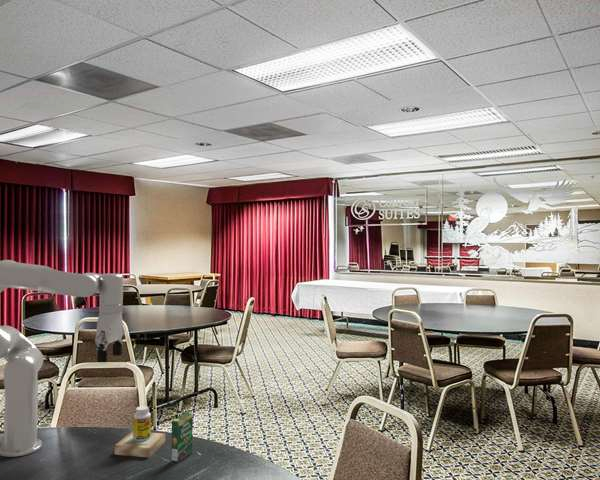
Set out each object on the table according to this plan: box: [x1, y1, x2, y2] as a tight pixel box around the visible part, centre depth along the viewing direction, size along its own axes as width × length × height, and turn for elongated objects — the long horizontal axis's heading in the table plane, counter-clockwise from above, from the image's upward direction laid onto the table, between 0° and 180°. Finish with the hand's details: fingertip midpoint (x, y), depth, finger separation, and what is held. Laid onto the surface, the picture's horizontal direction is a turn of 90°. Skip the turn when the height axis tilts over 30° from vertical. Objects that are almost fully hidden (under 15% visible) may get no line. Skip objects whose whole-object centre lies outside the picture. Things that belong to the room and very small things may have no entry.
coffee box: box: [170, 412, 194, 464], centre depth 156 cm, size 8×3×13 cm, turn 157°
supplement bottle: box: [132, 405, 152, 441], centre depth 162 cm, size 6×6×10 cm
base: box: [114, 430, 166, 458], centre depth 162 cm, size 12×12×3 cm
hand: (109, 358), depth 168 cm, fingers open, 9 cm apart
